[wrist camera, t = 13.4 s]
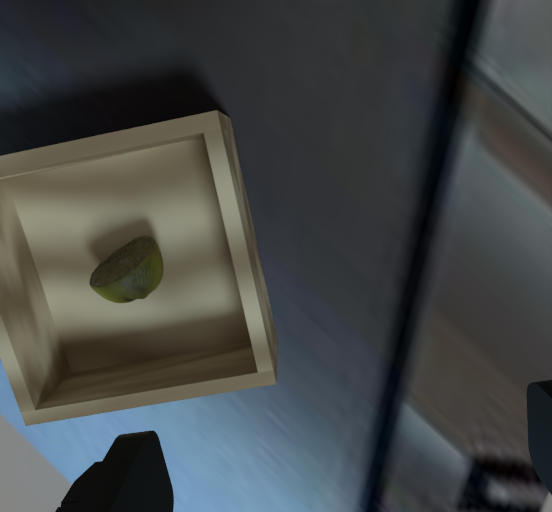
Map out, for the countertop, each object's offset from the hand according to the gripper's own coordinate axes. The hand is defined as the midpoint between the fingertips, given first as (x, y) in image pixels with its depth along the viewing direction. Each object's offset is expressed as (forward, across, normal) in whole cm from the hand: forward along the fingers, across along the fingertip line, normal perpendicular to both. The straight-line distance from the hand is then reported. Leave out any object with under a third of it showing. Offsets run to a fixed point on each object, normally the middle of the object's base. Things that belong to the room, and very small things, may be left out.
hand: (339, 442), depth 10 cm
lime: (+22, +12, 0) cm, 25 cm away
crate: (+23, +12, 0) cm, 26 cm away
